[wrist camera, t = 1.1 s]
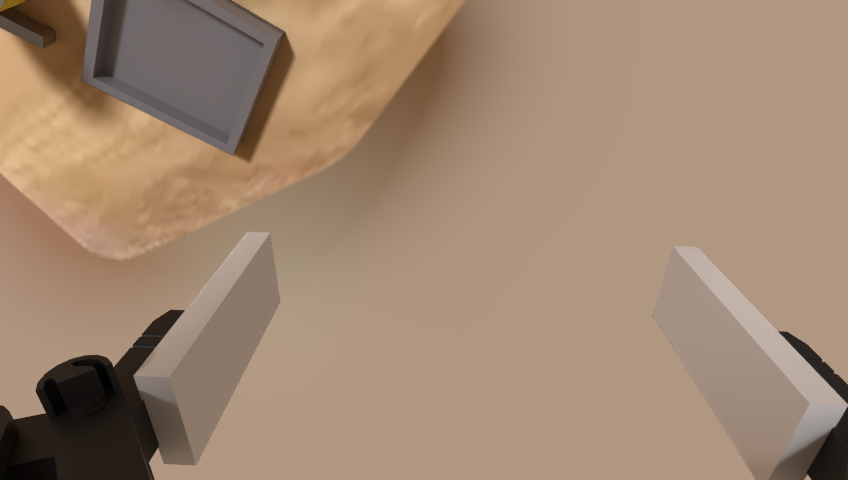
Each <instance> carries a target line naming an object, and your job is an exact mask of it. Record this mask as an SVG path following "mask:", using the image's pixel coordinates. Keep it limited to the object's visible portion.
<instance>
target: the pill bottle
mask: <svg viewBox="0 0 848 480" xmlns="http://www.w3.org/2000/svg"><path fill="white" fill-rule="evenodd" d="M26 1H28V0H0V12H1V11H3V10H6V9H8V8H11V7H13V6H16V5H18V4H21V3H23V2H26Z"/></svg>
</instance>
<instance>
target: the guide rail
mask: <svg viewBox="0 0 848 480" xmlns="http://www.w3.org/2000/svg"><path fill="white" fill-rule="evenodd" d="M0 27H1V28H3V29H5V30H7V31H9V32H11V33H13V34H15V35H17V36H19V37H21V38H23V39H25V40H27V41H29V42H31V43H33V44H35V45H37V46H39V47H41V48H45V47H47V46H49V45H51V44H52V43H54V42H55V35H56V31H54V30H52V29H50V28H48V27H46V26H44V25H43V24H41V23H39V22H37V21H35V20H33V19H31V18H29V17H27V16H25V15H23V14H21V13H19V12H17V11H15V10H13V9H11V8H8V9H6V10H3V11H1V12H0Z"/></svg>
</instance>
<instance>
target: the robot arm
mask: <svg viewBox="0 0 848 480" xmlns="http://www.w3.org/2000/svg"><path fill="white" fill-rule="evenodd" d="M279 303H280V297H279V289H278V282H277V276H276V269H275V262H274V255H273V248H272V242H271V235H270V233H263V232H247V233H246V234H245V235H244V237H243V238H242V239H241V240H240V242H239V243H238V244H237V245H236V247H235V248H234V249H233V251H232V252H231V253H230V254H229V256H228V257H227V258H226V259H225V261H224V262H223V263H222V264H221V266H220V267H219V268H218V270H217V271H216V272H215V273H214V275H213V276H212V277H211V278H210V280H209V281H208V282H207V283H206V285H205V286H204V287H203V289H202V290H201V291H200V292H199V293H198V295H197V296H196V297H195V299H194V300H193V301H192V302H191V304H190V305H189V306H188V307H187V309H186V310H170V311H168V312H167V313H165V314H164V315H162V316H160V317H159V318H157V319H156V320H154V321H153V322H152V323H151V325H150V326H149V327H148V328H147V329H146V330H145V331H144V333H143V334H142V337H140V338H138V340H137V341H136V342H135V343H134V344H133V348H130V349H129V350H128V351H127V352H126V354H125V355H124V356H123V357H122V358H121V359H120V361H119V362H118V363H117V364H116V365H115V367H114V368H113V365H112V363H111V362H110V361H109V360H108V358H106V357H103V356H99V355H86V356H82V357H77V358H73V359H70V360H68V361H66V362H64V363H61V364H59V365H57V366H56V367H54V368H53V369H51V370H50V371H48V372H47V373H46V374H45V375H44V376H43V377H42V378H41V379H40V381H39V382H38V384H37V388H36V393H37V395H38V397H39V399H40V401H41V403H42V405H43V407H44V409H45V412H46V414H40V415H35V416H30V417H25V418H20V419H15V420H14V419H13V418H12V416H11V414H10V412H9V411H8V410H7V409H6V408H5V407H4V406H0V480H155V479H154V476H153V474H152V470H151V468H150V465H149V461H150V460H151V458H152V456H153V455H154V453H155V451H156V450H157V448H159V451H160V454H161V457H162V459H163V462H164V464H179V465H196V464H197V463H198V461H199V459H200V457H201V455H202V453H203V451H204V449H205V447H206V445H207V443H208V441H209V439H210V437H211V435H212V433H213V431H214V430H215V428H216V425H217V424H218V422H219V420H220V418H221V416H222V414H223V412H224V410H225V408H226V406H227V404H228V402H229V400H230V398H231V396H232V395H233V392H234V391H235V389H236V386H237V385H238V383H239V381H240V379H241V377H242V375H243V373H244V371H245V369H246V367H247V365H248V363H249V361H250V360H251V358H252V356H253V354H254V352H255V350H256V348H257V346H258V344H259V342H260V340H261V338H262V336H263V334H264V332H265V330H266V328H267V326H268V324H269V323H270V320H271V319H272V317H273V315H274V313H275V311H276V309H277V307H278V305H279ZM652 316H653V317H654V319H655V320H656V322H657V323H658V325H659V326H660V328H661V330H662V331H663V333H664V335H665V336H666V338H667V339H668V341H669V342H670V344H671V346H672V347H673V349H674V351H675V352H676V354H677V355H678V357H679V358H680V360H681V362H682V363H683V365H684V366H685V368H686V370H687V371H688V373H689V374H690V376H691V378H692V379H693V381H694V382H695V384H696V385H697V387H698V388H699V390H700V392H701V393H702V395H703V397H704V398H705V400H706V401H707V403H708V405H709V406H710V408H711V409H712V411H713V413H714V414H715V416H716V417H717V419H718V420H719V422H720V424H721V425H722V427H723V428H724V430H725V432H726V433H727V435H728V436H729V438H730V440H731V441H732V443H733V444H734V446H735V448H736V449H737V451H738V452H739V454H740V456H741V457H742V459H743V460H744V462H745V463H746V465H747V467H748V468H749V470H750V471H751V473H752V474H753V476H754V478H755V479H756V480H804V479H805V477H806V476H807V474H808V475H809V477H810V478H811V479H812V480H848V385H847V384H846V382H844V381H843V379H842V378H840V377H839V376H838V375H837V374H834V371H833V370H832V369H831V368H830V367H829V366H828V365H827V364H826V363H825V362H822V359H821V358H820V357H819V356H818V355H817V354H816V353H815V352H814V351H813V350H812V349H811V348H810V347H809V346H808V345H807V344H806V343H804V342H802V341H801V340H799V339H798V338H796V337H794V336H793V335H791V334H790V333H788V332H779V331H777V330H776V329H775V328H774V327H773V326H772V325H771V324H770V323H769V322H768V321H767V320H766V319H765V318H764V316H763V315H761V313H760V312H759V311H758V310H757V309H756V308H755V307H754V306H753V305H752V304H751V303H750V302H749V301H748V300H747V299H746V298H745V297H744V296H743V295H742V294H741V293H740V292H739V290H738V289H736V288H735V286H734V285H733V284H732V283H731V282H730V281H729V280H728V279H727V278H726V277H725V276H724V275H723V274H722V273H721V272H720V271H719V270H718V269H717V268H716V267H715V266H714V264H713V263H712V262H710V260H709V259H708V258H707V257H706V256H705V255H704V254H703V253H702V252H701V251H700V250H699V249H698V248H697V247H682V246H673V248H672V251H671V254H670V258H669V261H668V264H667V267H666V271H665V274H664V278H663V281H662V284H661V288H660V291H659V295H658V298H657V302H656V305H655V308H654V311H653V315H652Z"/></svg>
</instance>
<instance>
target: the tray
mask: <svg viewBox="0 0 848 480" xmlns="http://www.w3.org/2000/svg"><path fill="white" fill-rule="evenodd" d="M284 34H285V32H284V31H283V30H281V29H279V28H277V27H276V26H274V25H272V24H271V23H269V22H267V21H266V20H264V19H262V18H260V17H259V16H257V15H255V14H254V13H252V12H250V11H249V10H247V9H245V8H243V7H242V6H240V5H238V4H237V3H235V2H233V1H232V0H92V2H91V9H90V17H89V24H88V32H87V39H86V47H85V55H84V62H83V70H82V77H81V81H83V82H85V83H87V84H89V85H91V86H93V87H95V88H97V89H99V90H101V91H103V92H105V93H107V94H109V95H111V96H113V97H115V98H117V99H119V100H121V101H123V102H125V103H127V104H129V105H131V106H134V107H136V108H138V109H140V110H142V111H144V112H146V113H148V114H150V115H152V116H154V117H156V118H158V119H160V120H162V121H164V122H166V123H168V124H170V125H172V126H174V127H176V128H178V129H180V130H182V131H184V132H186V133H188V134H190V135H193V136H195V137H197V138H199V139H201V140H203V141H205V142H207V143H209V144H211V145H213V146H215V147H217V148H219V149H221V150H223V151H225V152H227V153H229V154H231V155H233V154H234V153H235V152H236V150H237V149H238V147H239V146H240V145H241V142H242V140H243V137H244V135H245V132H246V130H247V127H248V124H249V122H250V119H251V117H252V114H253V112H254V109H255V107H256V104H257V102H258V99H259V97H260V94H261V92H262V89H263V87H264V84H265V82H266V79H267V76H268V74H269V71H270V69H271V66H272V64H273V61H274V59H275V56H276V54H277V51H278V49H279V46H280V44H281V41H282V39H283V36H284Z"/></svg>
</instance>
